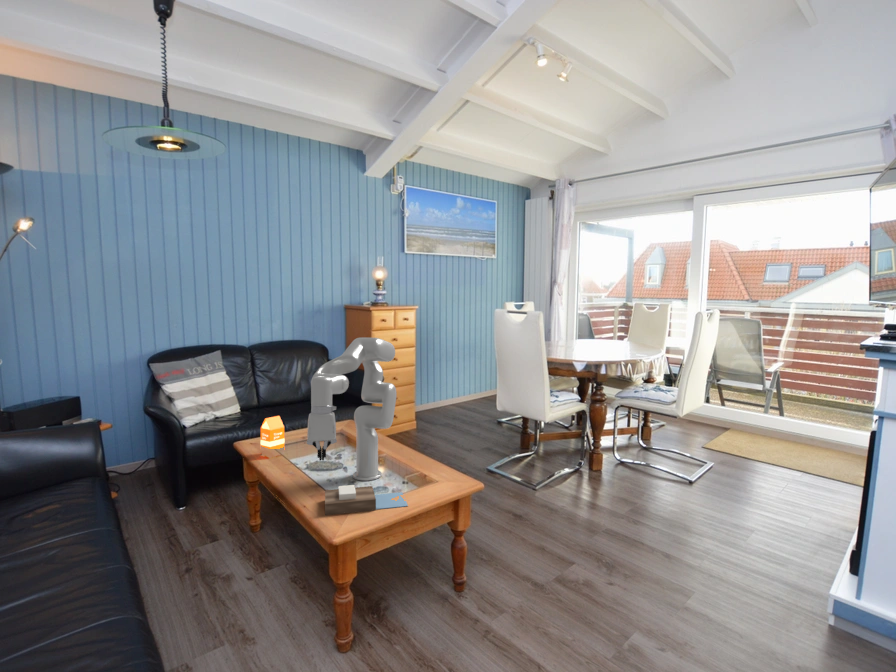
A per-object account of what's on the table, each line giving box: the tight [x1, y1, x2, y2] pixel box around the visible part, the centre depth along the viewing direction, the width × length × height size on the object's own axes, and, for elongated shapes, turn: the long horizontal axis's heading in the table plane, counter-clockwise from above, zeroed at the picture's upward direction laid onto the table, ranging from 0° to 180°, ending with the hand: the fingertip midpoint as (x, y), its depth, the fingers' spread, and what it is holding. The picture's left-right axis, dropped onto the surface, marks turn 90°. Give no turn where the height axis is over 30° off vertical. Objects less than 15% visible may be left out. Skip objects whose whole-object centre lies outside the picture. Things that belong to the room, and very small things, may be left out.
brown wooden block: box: [324, 485, 376, 516], centre depth 171 cm, size 14×18×4 cm
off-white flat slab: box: [338, 484, 356, 500], centre depth 171 cm, size 9×6×2 cm, turn 15°
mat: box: [375, 491, 409, 511], centre depth 176 cm, size 14×12×1 cm
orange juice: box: [260, 415, 286, 449], centre depth 235 cm, size 8×9×20 cm
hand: (321, 459), depth 168 cm, fingers closed
